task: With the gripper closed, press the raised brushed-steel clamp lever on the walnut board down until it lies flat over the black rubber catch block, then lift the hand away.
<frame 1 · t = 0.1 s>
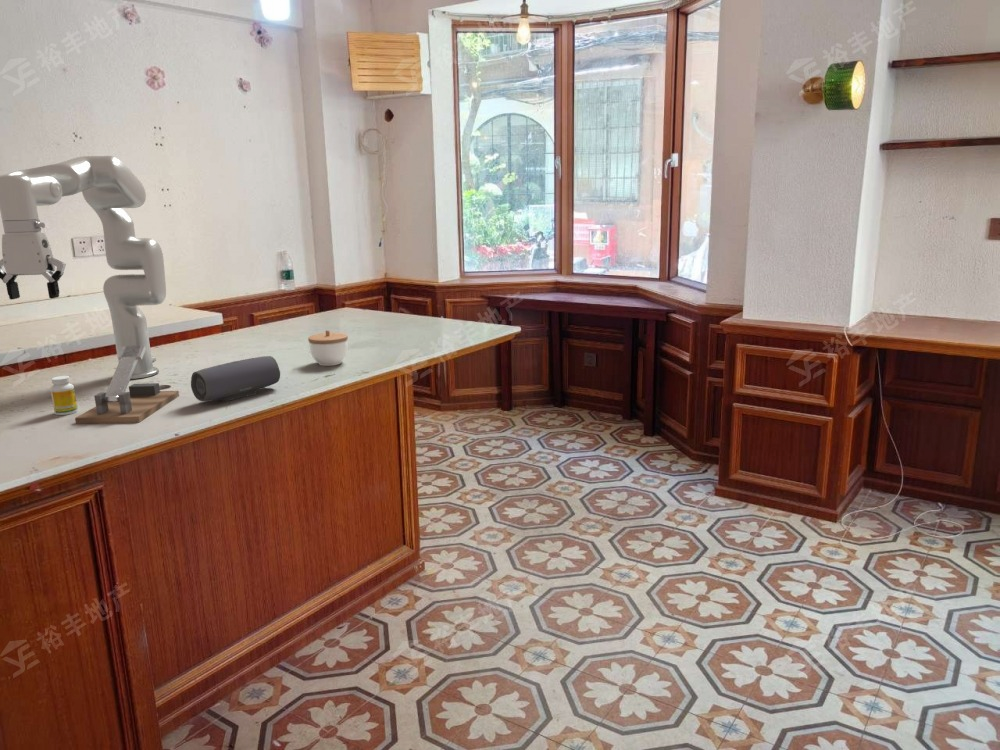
hand: (34, 298, 182), 31 cm above the table, fingers open, 9 cm apart
bluetooth speaker: (238, 396, 207), on the table
catch block: (146, 399, 205), resting on walnut board
clamp lever: (123, 373, 193), point 10 cm above the table, hinge at 35.0°
lidded bowl: (330, 363, 243), on the table
supplement bottle: (66, 413, 195), on the table
walnut board: (130, 408, 197), on the table
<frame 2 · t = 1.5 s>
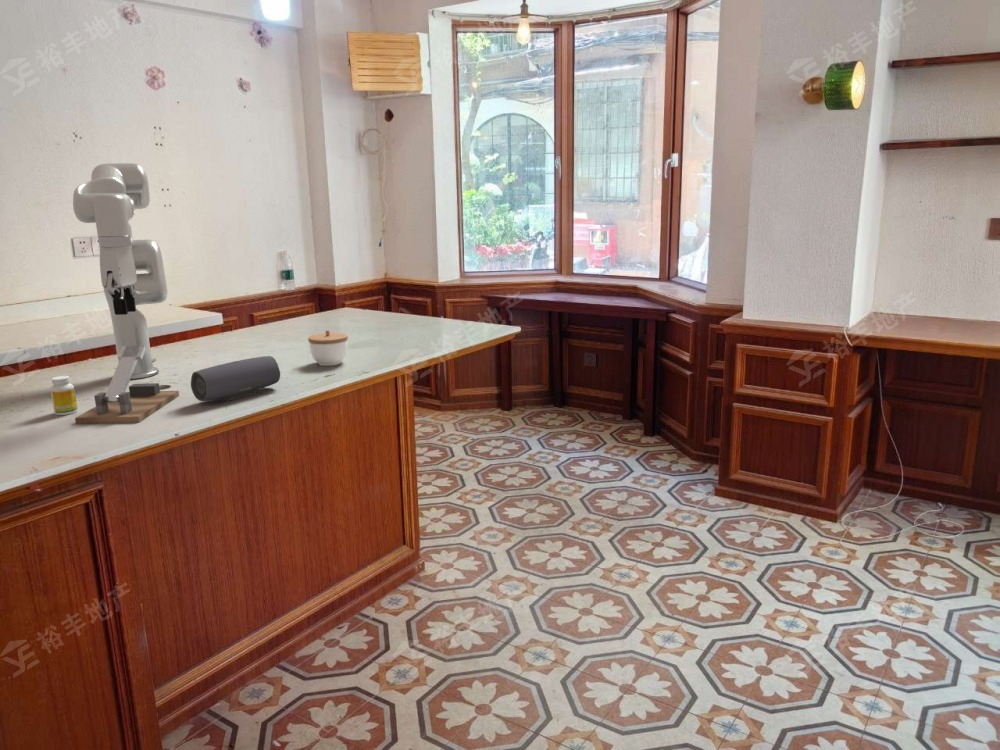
hand: (125, 312, 195), 25 cm above the table, fingers open, 3 cm apart
nothing on the table moved.
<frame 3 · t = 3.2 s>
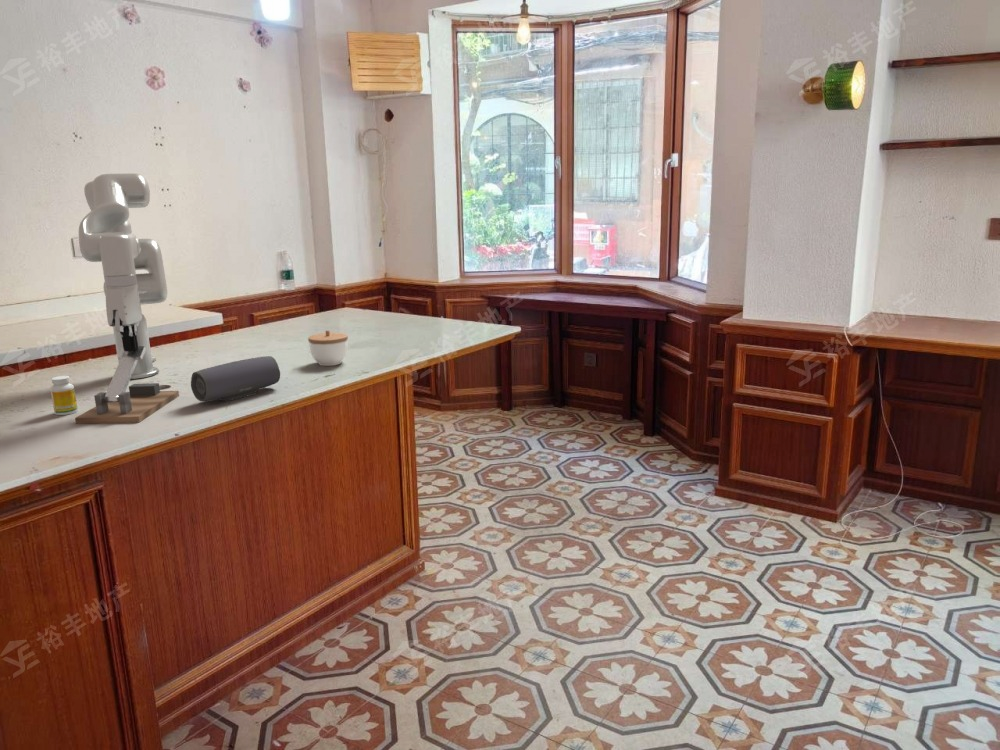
hand: (131, 350, 197), 15 cm above the table, fingers closed
clamp lever: (123, 373, 193), point 10 cm above the table, hinge at 34.7°, touching gripper
everything else where it was.
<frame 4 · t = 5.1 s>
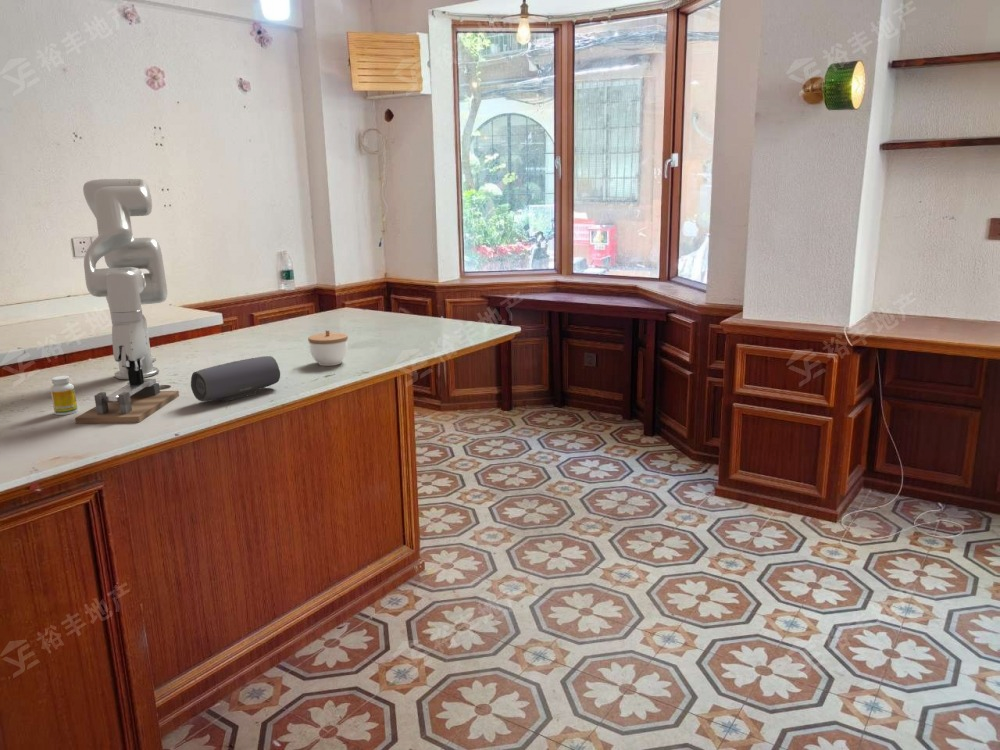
hand: (136, 384, 200), 6 cm above the table, fingers closed
clamp lever: (128, 390, 196), point 5 cm above the table, hinge at 0.0°, touching gripper
everything else where it was.
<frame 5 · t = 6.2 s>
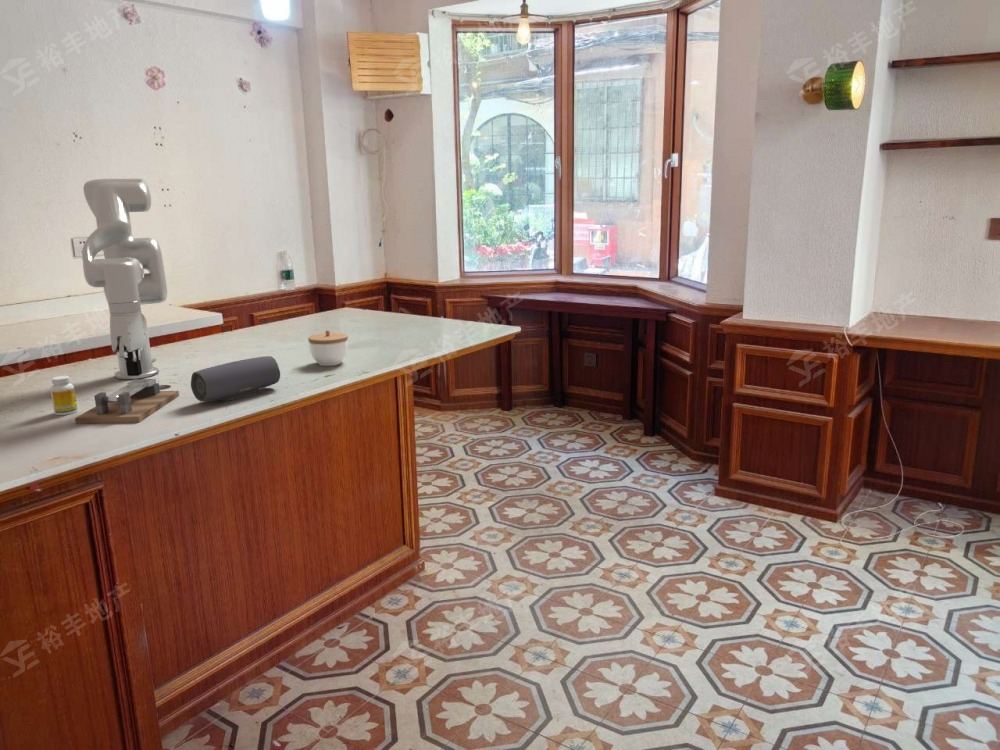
hand: (135, 374, 199), 8 cm above the table, fingers closed
clamp lever: (128, 390, 196), point 5 cm above the table, hinge at 0.0°
everything else where it was.
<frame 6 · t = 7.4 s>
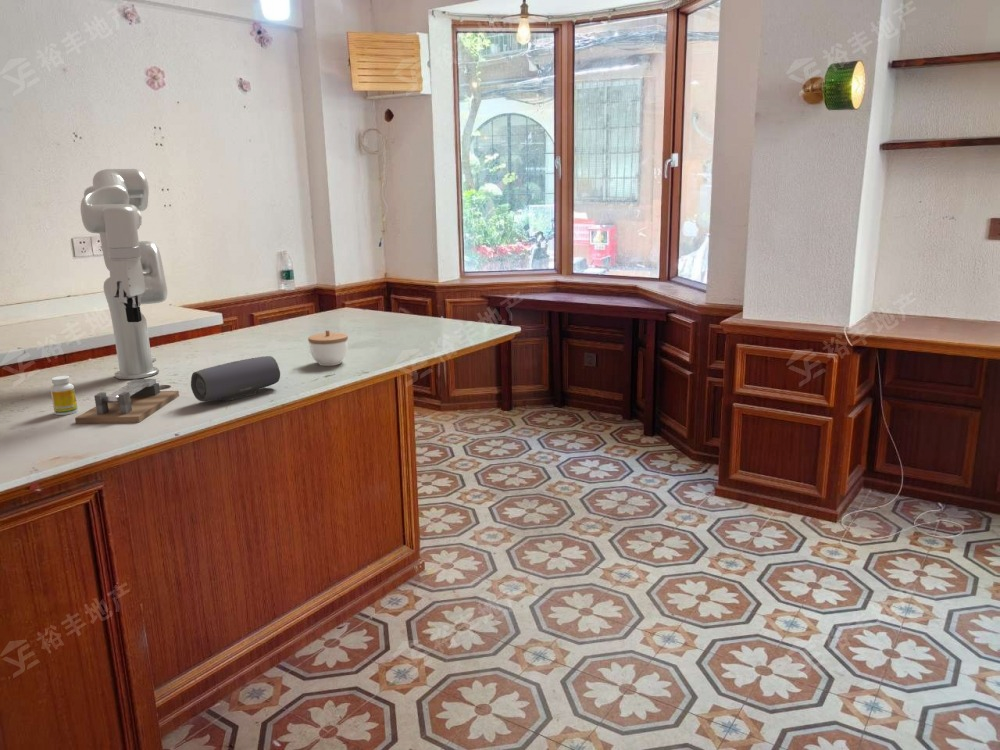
hand: (134, 321, 200), 22 cm above the table, fingers closed
nothing on the table moved.
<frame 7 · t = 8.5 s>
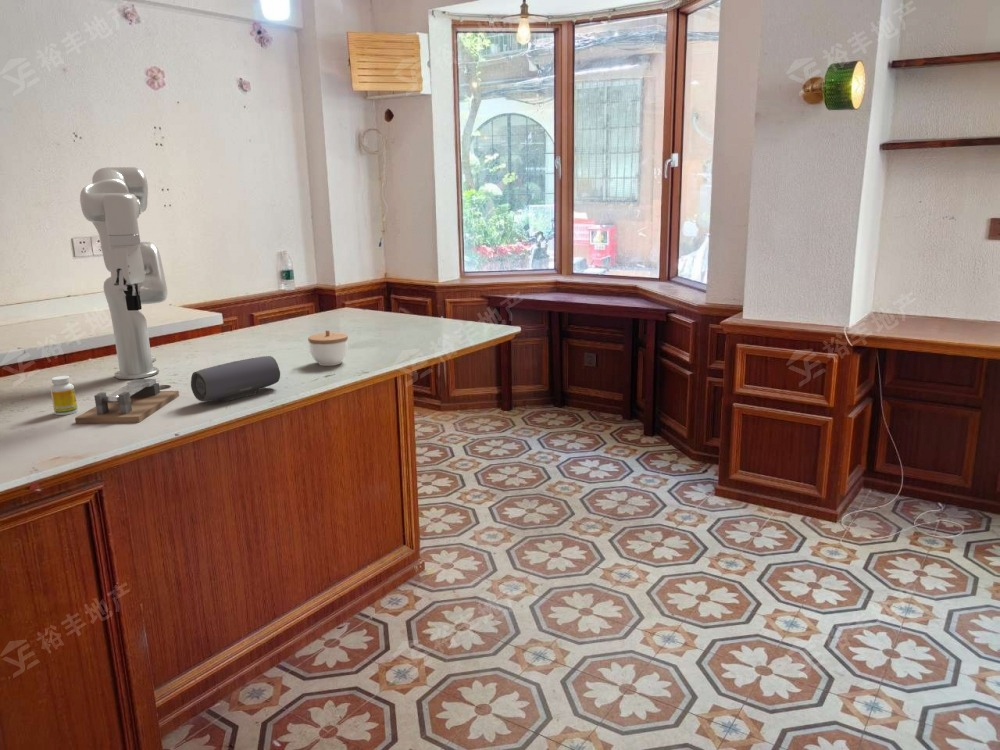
hand: (134, 309, 200), 25 cm above the table, fingers closed
nothing on the table moved.
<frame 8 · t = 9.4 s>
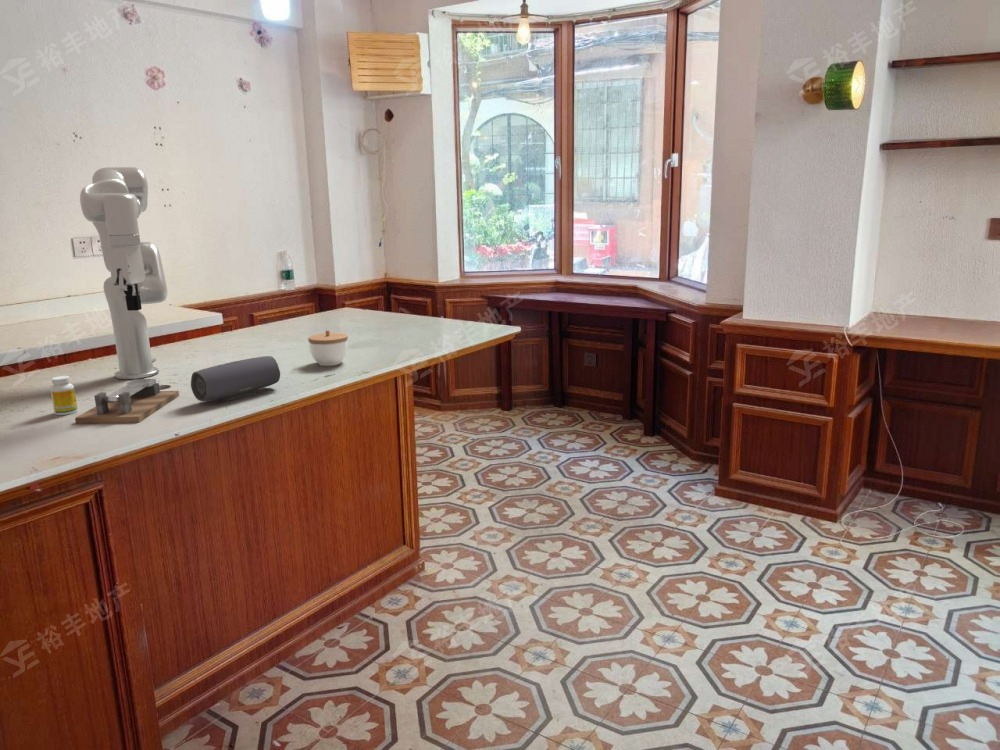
hand: (134, 309, 200), 25 cm above the table, fingers closed
nothing on the table moved.
at the end: clamp lever at +0° (first picture: +35°); supplement bottle moved 0.2 cm from its start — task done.
